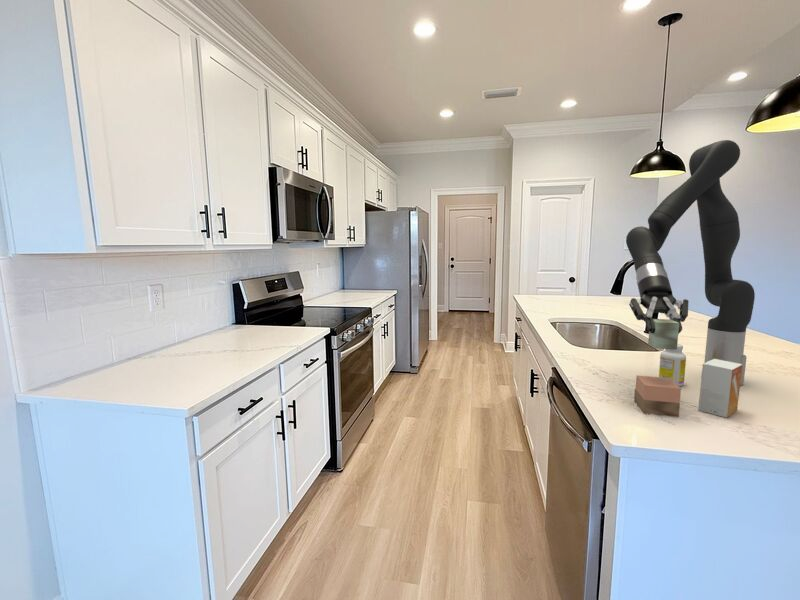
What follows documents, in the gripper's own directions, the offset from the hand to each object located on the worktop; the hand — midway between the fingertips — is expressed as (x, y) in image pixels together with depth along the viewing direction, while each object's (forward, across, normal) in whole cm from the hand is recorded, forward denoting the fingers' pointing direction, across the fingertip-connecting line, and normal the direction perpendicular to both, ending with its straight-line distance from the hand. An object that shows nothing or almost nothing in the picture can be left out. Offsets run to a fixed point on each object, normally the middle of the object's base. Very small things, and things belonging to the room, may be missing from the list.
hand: (665, 332), depth 97 cm
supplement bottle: (-2, +11, +33) cm, 34 cm away
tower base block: (+15, 0, +16) cm, 22 cm away
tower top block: (+12, 0, +14) cm, 18 cm away
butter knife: (+22, +2, +9) cm, 24 cm away
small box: (+12, +15, +18) cm, 27 cm away
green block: (+2, 0, +4) cm, 4 cm away
